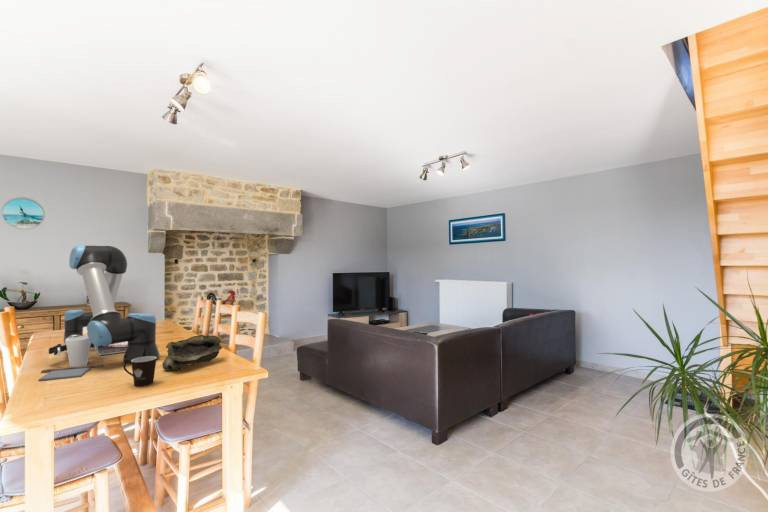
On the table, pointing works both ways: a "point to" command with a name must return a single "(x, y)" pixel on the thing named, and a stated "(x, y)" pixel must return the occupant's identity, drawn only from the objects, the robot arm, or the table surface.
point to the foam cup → (78, 350)
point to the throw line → (72, 368)
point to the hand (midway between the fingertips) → (78, 350)
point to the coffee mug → (142, 370)
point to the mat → (65, 374)
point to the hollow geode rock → (191, 351)
